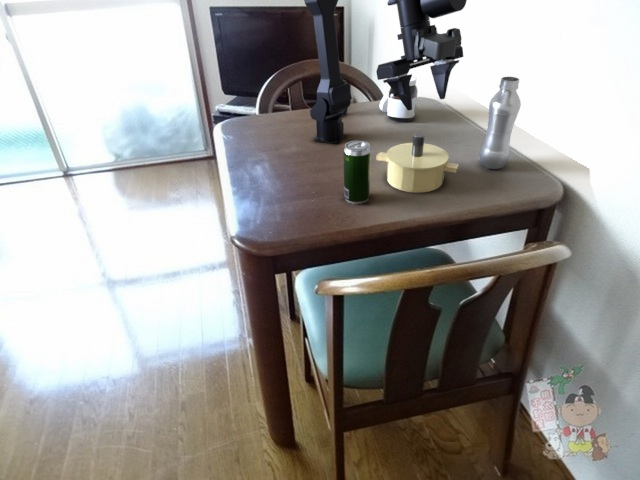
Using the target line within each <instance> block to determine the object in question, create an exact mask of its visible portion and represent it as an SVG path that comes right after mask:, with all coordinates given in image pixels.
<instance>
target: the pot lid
mask: <svg viewBox="0 0 640 480" xmlns="http://www.w3.org/2000/svg"><path fill="white" fill-rule="evenodd" d="M425 136H426V135H425V134H424V133H421V132H417V133H413V136H412V142H406V143H400V144H396V145H394V146H391V147H390V148H389V149H388V150H387V151H386V152H385V153H386V158H387V160H388V161H389V162H390V163H391V164H393V165H395V166H397V167H400V168H403V169H408V170H432V169H436V168H439V167H442V166H443V165H445V164H446V163H447V162H449V153H448V152H447V151H446V150H445V149H444V148H441V147H439V146H437V145H434V144H431V143H425V139H426V137H425Z"/></svg>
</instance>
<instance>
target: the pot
mask: <svg viewBox="0 0 640 480" xmlns="http://www.w3.org/2000/svg"><path fill="white" fill-rule="evenodd" d="M386 153H387V152H382V151H380V152H378V153H377V154H376V157H375V160H376V161H380V162H386V164H387V165H386V180H387V182H388V184H389V185H390V186H391V187H392V188H395V189H397V190H399V191H403V192H407V193H415V194H417V193H421V194H422V193H428V192H431V191H435V190H438V189H439V188H440V187H441V186H442V185H443V182H444V178H445V173H446V172H449V173H455V174H456V173H457V171H458V169H459V163H455V162H449V161H448V162H447V163H446V164H445V165H443V166H442V167H439V168H436V169H432V170H408V169H403V168H400V167H397V166H395V165H393V164H391V163H390V162H389V161H388V160H387V158H386Z"/></svg>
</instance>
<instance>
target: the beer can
mask: <svg viewBox="0 0 640 480" xmlns="http://www.w3.org/2000/svg"><path fill="white" fill-rule="evenodd" d="M371 158H372V149H371V144H370V143H369V142H368V141H364V140H350V141H348V142H346V143H345V144H344V149H343V197H344V199H345V201H346V202H347V203H348V204H351V205H362V204H365V203H367V202H368V200H369V199H370V193H371V191H370V190H371V189H370V188H371V186H370V185H371V161H372V159H371Z"/></svg>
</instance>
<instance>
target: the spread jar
mask: <svg viewBox="0 0 640 480" xmlns="http://www.w3.org/2000/svg"><path fill="white" fill-rule="evenodd" d="M416 84H417V77H415V76H414V75H412V77H411V80H410V83H409V85H410V92H411V99H412V110H407V109H406V107H405V106H404V104H403V103H402V101H401V100H400V98H399V97H398V96H397V94H396V93H395V92H394V90H393V89H392V88H391V87H390V88H389V91H387V92H386V93H385V94H384V95H383V97H381V100H380V102H379V107H378V108H379V109H380V110H381V111H382V112H383V113H387V117H388V119H390V120H391V121H393V122H396V123H407V122H411V121H412V120H414V118H415V115H416V112H417V102H418V92H419V91H418V86H417V85H416Z"/></svg>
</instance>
